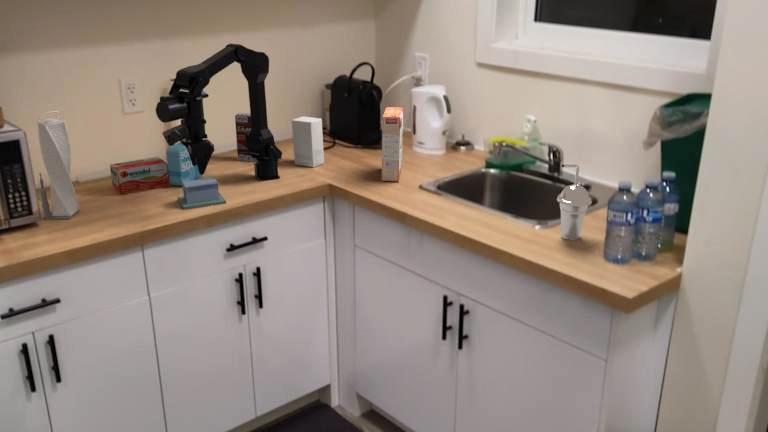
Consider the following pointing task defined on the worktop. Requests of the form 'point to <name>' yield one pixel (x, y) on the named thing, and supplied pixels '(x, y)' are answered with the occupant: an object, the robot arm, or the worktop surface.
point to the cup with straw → (573, 207)
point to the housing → (200, 190)
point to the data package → (180, 165)
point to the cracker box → (392, 143)
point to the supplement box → (243, 136)
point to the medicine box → (139, 175)
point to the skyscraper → (57, 169)
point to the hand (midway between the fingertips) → (198, 170)
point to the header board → (202, 204)
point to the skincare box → (308, 141)
